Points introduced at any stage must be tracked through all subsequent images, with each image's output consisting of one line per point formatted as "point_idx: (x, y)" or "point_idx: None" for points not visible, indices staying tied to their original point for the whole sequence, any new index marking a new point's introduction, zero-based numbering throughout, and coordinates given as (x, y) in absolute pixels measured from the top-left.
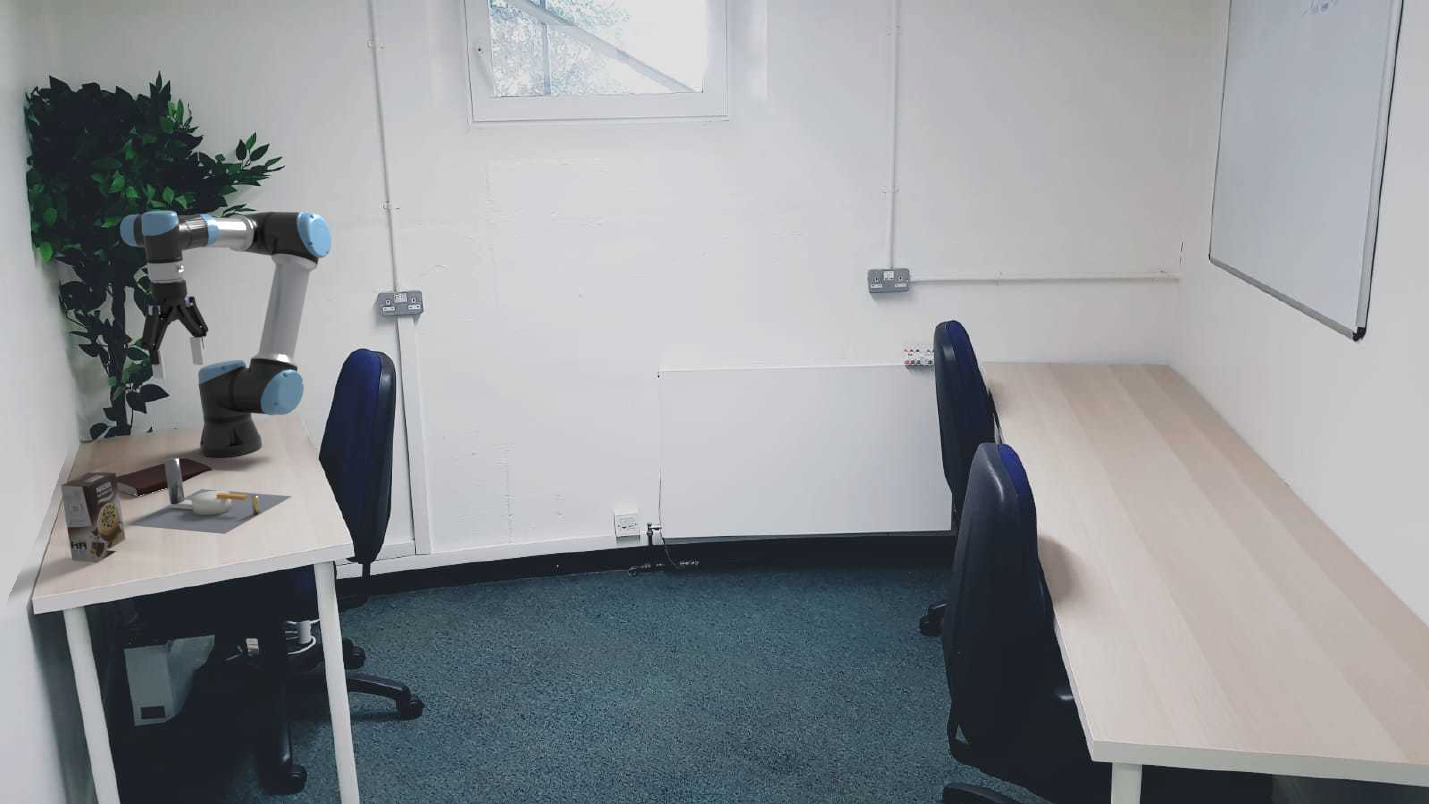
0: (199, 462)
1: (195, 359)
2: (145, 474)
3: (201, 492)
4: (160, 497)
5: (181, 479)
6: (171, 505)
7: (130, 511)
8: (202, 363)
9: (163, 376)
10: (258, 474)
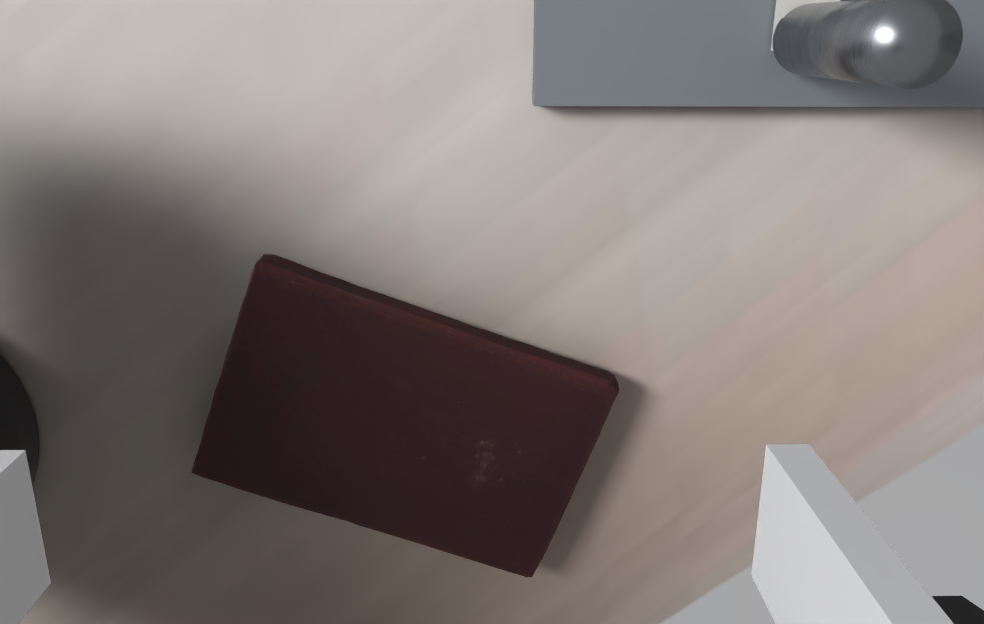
0: (227, 355)
1: (6, 589)
2: (452, 472)
3: (580, 72)
4: (594, 279)
5: (845, 3)
6: (779, 89)
7: (781, 280)
8: (14, 467)
9: (819, 458)
10: (178, 29)
